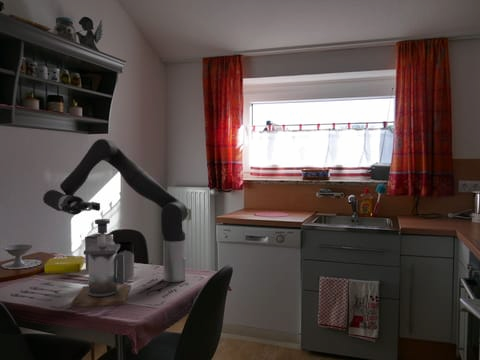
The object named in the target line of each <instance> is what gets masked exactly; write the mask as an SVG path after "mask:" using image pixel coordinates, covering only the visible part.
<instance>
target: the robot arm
mask: <svg viewBox="0 0 480 360" xmlns="http://www.w3.org/2000/svg"><path fill="white" fill-rule="evenodd" d="M102 161H104V162H106V163H108V164H109V165H110V166H112V167H114V168H115V170H117V171H118V172H119V174H120V175H121V177H122V178H123V180H124V181H125V183H126V184H127V185H128V186H129V187H130V188H131V189H132V190H134V191H135V193H136V194H138V195H139V196H141V197H143V198H145V199H146V200H149V201H150V202H153V203H154V204H156V205H157V206H159V207H160V208H161V215H160V218H161V219H160V220H161V221H160V223H161V226H160V227H161V233H162V237H163V238H162V239H163V281H164V282H166V283H180V282H185V281H186V232H184V230H183V222H184V221H185V220H186V219H187V218H188V215H189V211H188V207H187V206H186V204H184V202H182V201H180V199H178V198H176V197H175V196H174V195H173V194H171V193H170V192H169V191H167V190H166V189H165V188H164V187H163V186H162V185H161V184H159V182H157V180H155V179H154V178H153V177H152V176H151V175H150V174H149V173H148V172H147V171H146V170H144V169H143V168H142V167H141V166H139V165H138V163H136V162H134V161H133V160H131V159H130V158H129V157H128V156H127V155H126V154H125V153H124V152H123V151H122V149H120V148H119V146H118V145H117V144H116V143H115V142H114V141H111V140H109V139H105V138H99V139H97V140H95V141H94V142H93V144H92V145H91V146H90V148H89V149H88V150H87V152H86V154H84V156H83V158H82V159H81V160H80V162H79V163H78V165H76V167H75V168H74V169H73V171H71V172H70V174H68V176H67V177H66V178H65V179H64V180H63V181H62V182H61V183H60V186H59V187H60V189H61V191H62V192H63V193H62V192H60V191H57V190H56V189H49V190H47V191H45V193H44V195H43V198H42V200H43V202H44V204H45V205H47V206H48V207H50V208H52V209H54V210H56V211H57V212H64V213H66V214H69V215H79V214H81V213H82V212H84V211H85V212H92V211H95V212H99V211H100V210H101V203H100V202H96V201H84V200H83V198H82V197H80V196H78V195H75V194H76V192H77V191H78V190H79V189H80V188H81V187H82V186H83V185H84V184H85V183H86V181H87V179H88V177H89V175H90V173H91V171H92V170H93V169H94V168H95V167H96V166H97V165H98V164H99V163H101V162H102Z"/></svg>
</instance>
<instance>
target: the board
mask: <svg viewBox="0 0 480 360" xmlns="http://www.w3.org/2000/svg"><path fill="white" fill-rule="evenodd" d="M117 288H118V293H117V294H115V295H113V296H110V297H105V298H93V297H90V296H88V290H89V285H85V286H83V287H82V288H81V289H80V290H79V292H78V293H77V294H76V296H75V297H74V299H73V300H72V301H71V308H74V307H75V308H76V307H98V306H99V307H100V306H120V305H121V306H122V305H125V304H126V303H127V299H128V297H129V294H130V291H131V288H132V285H131V284H117Z"/></svg>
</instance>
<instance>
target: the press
mask: <svg viewBox="0 0 480 360" xmlns="http://www.w3.org/2000/svg"><path fill="white" fill-rule="evenodd" d="M119 248H120V244H116V243H115V244H105V248H100V245H90V246H89V247H88V248H87V249H86V250H85V249H84V250H83V256H85V255H88V265H89V272H88V286H89V290H88V296H90V297H93V298H105V297H110V296H113V295H115V294H117V293H118V288H117V285H125V281H124V253H121V254H117V251H118V250H119ZM117 260H119V278H117Z"/></svg>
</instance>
